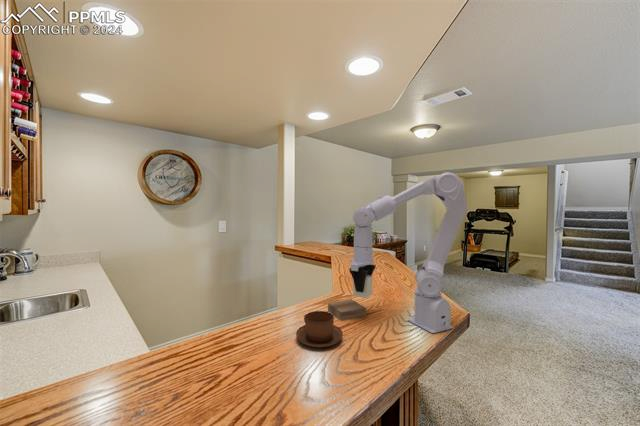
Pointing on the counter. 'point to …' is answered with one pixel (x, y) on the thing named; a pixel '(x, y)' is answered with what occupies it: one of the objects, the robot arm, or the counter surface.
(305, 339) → the cup and saucer
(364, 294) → the sage block
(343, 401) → the counter surface
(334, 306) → the walnut slab
